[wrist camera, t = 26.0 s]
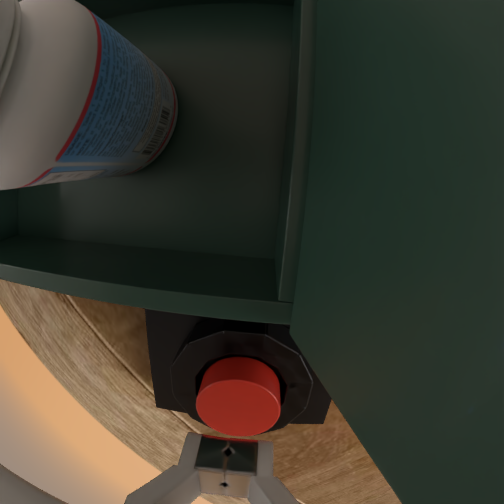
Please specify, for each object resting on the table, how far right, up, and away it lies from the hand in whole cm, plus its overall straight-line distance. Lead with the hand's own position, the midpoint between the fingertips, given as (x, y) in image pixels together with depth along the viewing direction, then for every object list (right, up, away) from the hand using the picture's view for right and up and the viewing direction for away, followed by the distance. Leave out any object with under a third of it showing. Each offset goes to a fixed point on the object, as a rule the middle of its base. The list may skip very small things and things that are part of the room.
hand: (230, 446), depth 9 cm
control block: (0, +2, +7) cm, 8 cm away
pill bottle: (-6, +14, +4) cm, 15 cm away
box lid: (+4, +9, -10) cm, 14 cm away
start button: (0, +1, +4) cm, 4 cm away
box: (-6, +14, +5) cm, 16 cm away
